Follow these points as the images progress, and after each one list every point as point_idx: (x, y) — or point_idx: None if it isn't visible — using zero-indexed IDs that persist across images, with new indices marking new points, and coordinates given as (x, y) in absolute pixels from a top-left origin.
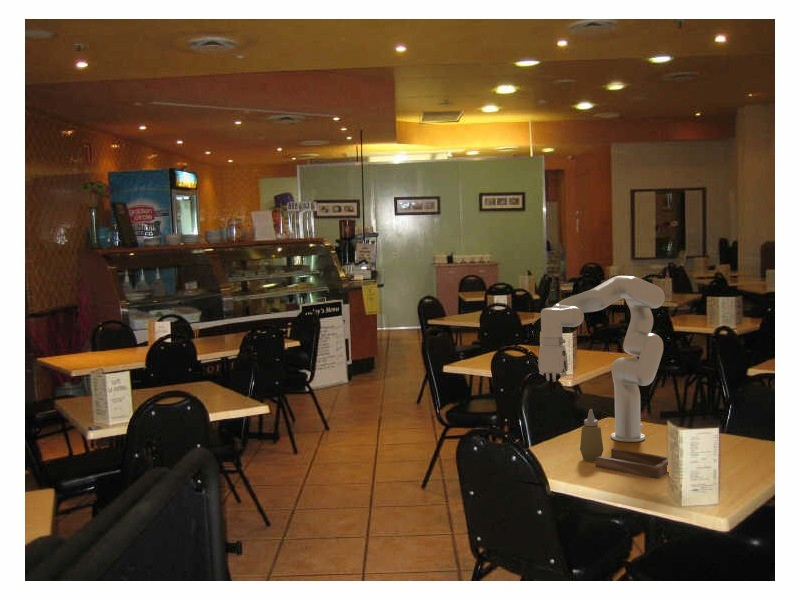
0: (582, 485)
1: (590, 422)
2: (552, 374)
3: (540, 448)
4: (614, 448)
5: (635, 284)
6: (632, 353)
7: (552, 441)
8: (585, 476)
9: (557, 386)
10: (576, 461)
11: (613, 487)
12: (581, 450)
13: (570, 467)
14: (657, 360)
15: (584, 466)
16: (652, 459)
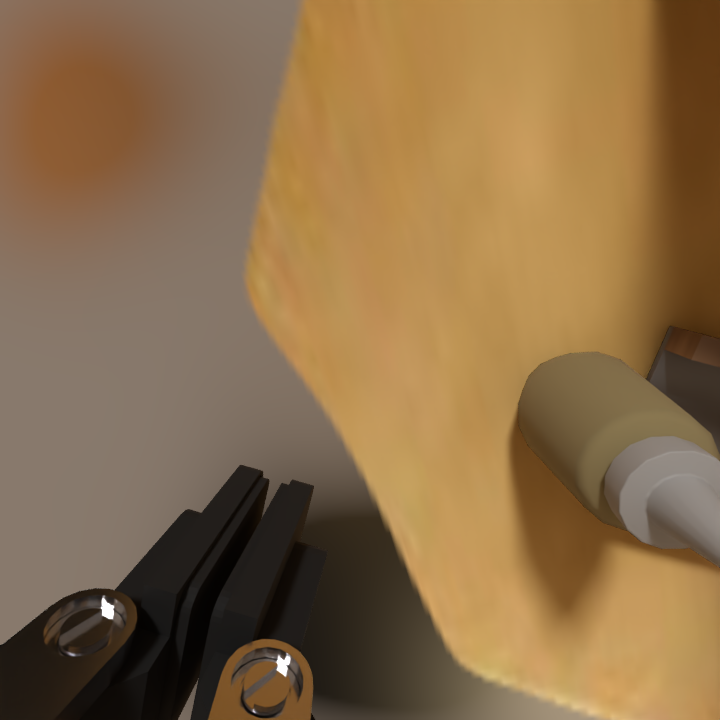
0: (573, 702)
1: (674, 545)
2: None
3: (274, 284)
4: (709, 342)
5: None
6: None
7: (287, 123)
8: (568, 612)
9: (316, 590)
10: (495, 437)
11: (693, 699)
12: (531, 449)
13: (486, 524)
14: None
15: (544, 496)
16: None
